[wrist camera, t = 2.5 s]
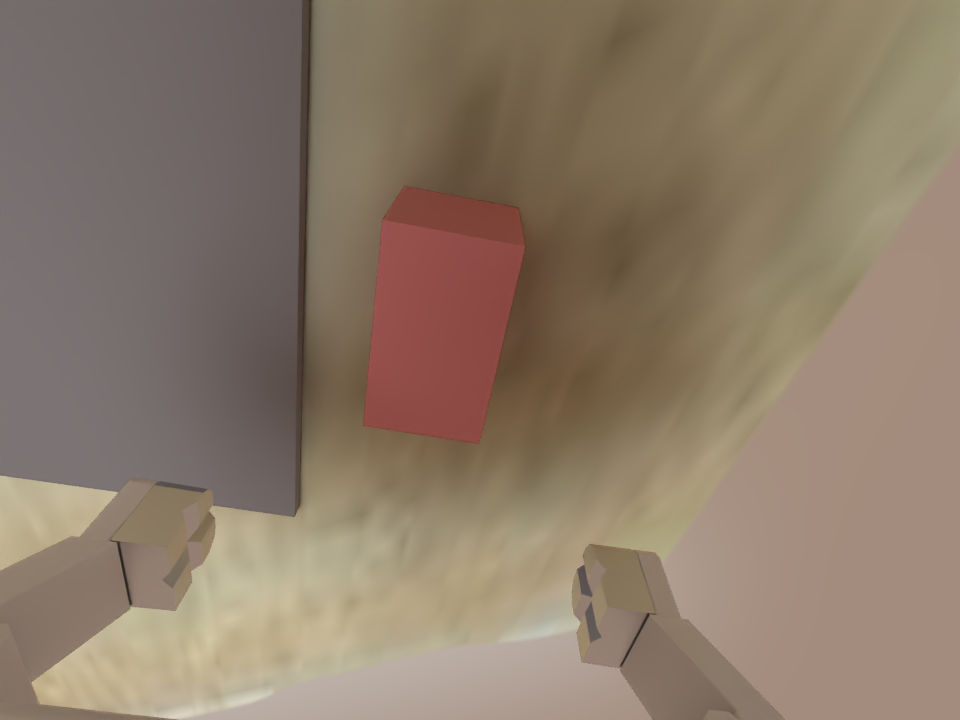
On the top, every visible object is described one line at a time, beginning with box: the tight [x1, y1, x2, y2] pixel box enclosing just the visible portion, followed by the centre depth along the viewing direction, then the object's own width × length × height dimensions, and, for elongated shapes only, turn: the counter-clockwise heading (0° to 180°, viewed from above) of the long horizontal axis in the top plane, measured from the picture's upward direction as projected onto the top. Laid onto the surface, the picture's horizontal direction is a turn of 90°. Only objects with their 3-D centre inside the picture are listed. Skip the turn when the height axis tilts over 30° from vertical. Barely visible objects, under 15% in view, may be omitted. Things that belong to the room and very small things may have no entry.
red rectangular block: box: [363, 186, 526, 444], centre depth 21 cm, size 8×4×5 cm, turn 169°
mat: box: [0, 0, 310, 517], centre depth 22 cm, size 24×18×1 cm
